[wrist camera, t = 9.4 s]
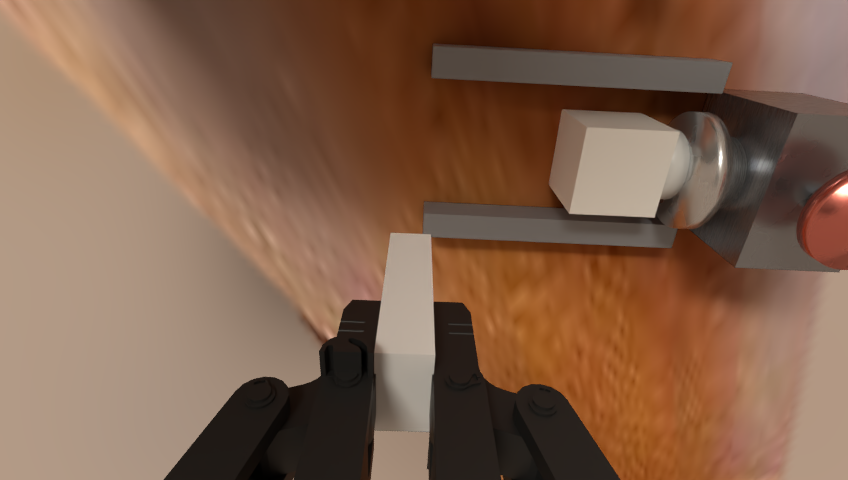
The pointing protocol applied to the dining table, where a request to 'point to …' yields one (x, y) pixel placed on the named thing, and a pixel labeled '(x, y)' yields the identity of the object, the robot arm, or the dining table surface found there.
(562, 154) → the cube with cylindrical stub
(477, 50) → the guide rails
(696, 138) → the button station
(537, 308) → the dining table surface
